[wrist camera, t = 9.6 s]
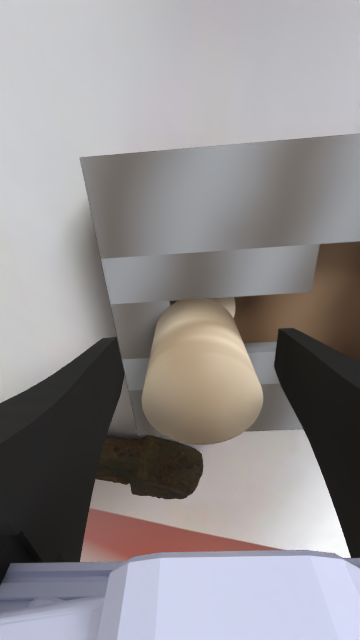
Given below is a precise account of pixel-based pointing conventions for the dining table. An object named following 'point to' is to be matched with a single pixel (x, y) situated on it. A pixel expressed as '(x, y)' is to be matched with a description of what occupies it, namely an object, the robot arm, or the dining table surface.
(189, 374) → the keyhole peg
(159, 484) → the hand tool
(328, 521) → the dining table surface
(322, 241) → the keyhole plate
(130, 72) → the dining table surface
